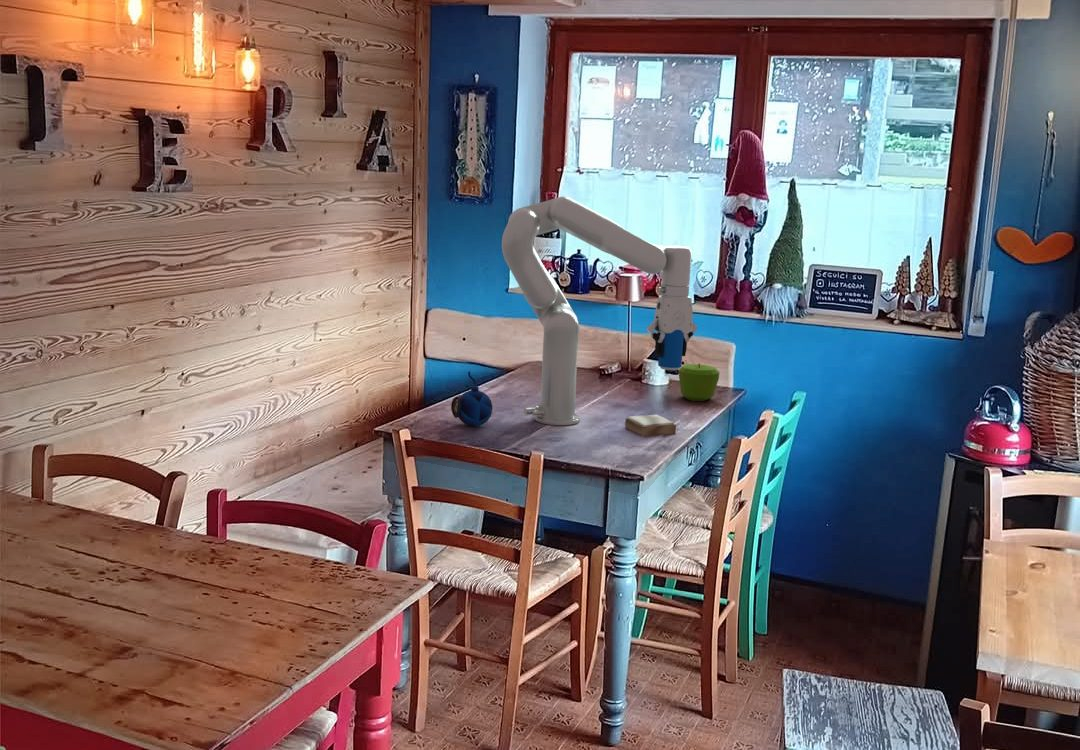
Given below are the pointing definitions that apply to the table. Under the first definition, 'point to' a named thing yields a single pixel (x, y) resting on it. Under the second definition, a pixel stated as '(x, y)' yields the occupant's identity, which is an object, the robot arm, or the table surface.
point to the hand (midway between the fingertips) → (670, 355)
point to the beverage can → (672, 351)
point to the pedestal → (650, 425)
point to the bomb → (472, 406)
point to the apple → (698, 381)
